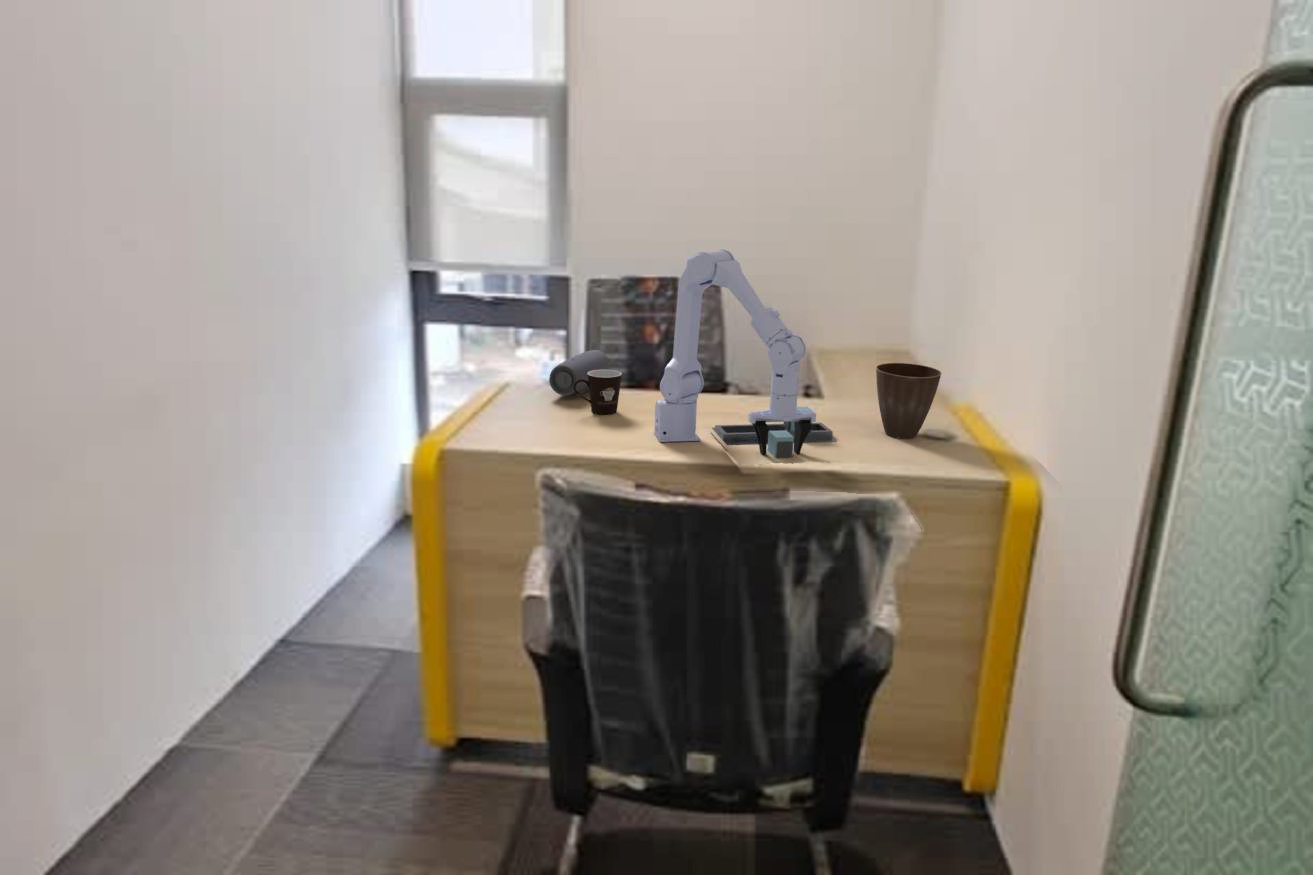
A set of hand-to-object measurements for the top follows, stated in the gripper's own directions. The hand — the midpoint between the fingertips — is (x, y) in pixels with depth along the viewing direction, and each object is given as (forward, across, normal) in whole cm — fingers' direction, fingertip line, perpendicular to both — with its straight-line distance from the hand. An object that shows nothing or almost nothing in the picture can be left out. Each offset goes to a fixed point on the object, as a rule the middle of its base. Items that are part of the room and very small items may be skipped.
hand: (779, 453), depth 202 cm
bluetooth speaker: (+2, -36, +65) cm, 74 cm away
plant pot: (+2, +36, +16) cm, 39 cm away
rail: (+1, +3, +14) cm, 14 cm away
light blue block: (0, +9, +14) cm, 17 cm away
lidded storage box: (+2, 0, 0) cm, 2 cm away
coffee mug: (+2, -34, +43) cm, 55 cm away
